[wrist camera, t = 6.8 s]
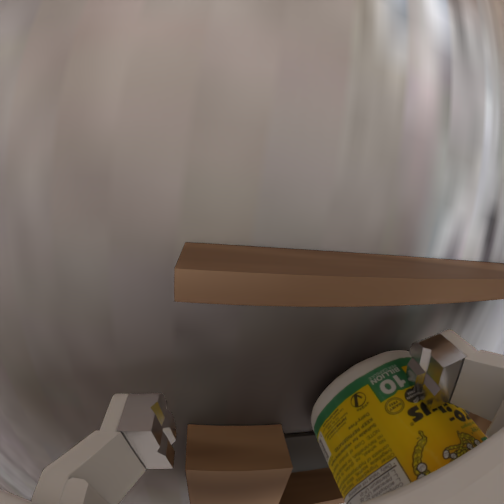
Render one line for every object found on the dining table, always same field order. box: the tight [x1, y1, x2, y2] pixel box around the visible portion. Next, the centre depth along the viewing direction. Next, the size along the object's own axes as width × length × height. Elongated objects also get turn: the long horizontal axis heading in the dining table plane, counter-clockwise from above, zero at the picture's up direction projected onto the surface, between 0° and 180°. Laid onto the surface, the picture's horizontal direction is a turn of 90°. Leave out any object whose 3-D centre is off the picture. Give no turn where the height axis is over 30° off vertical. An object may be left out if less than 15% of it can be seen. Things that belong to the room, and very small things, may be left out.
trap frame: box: [174, 242, 504, 504], centre depth 11 cm, size 13×22×2 cm, turn 85°
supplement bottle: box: [311, 350, 488, 504], centre depth 7 cm, size 5×5×10 cm
